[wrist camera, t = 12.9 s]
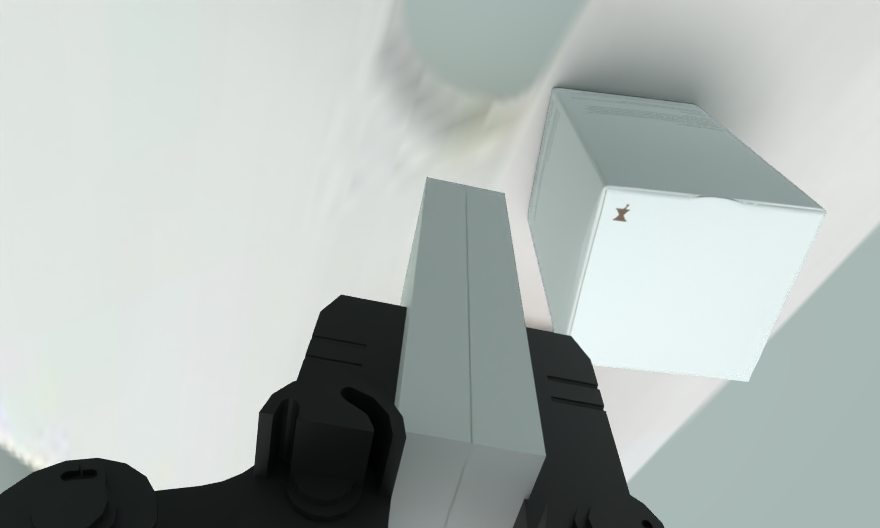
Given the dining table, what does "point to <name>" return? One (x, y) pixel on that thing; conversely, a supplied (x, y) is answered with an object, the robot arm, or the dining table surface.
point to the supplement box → (663, 235)
